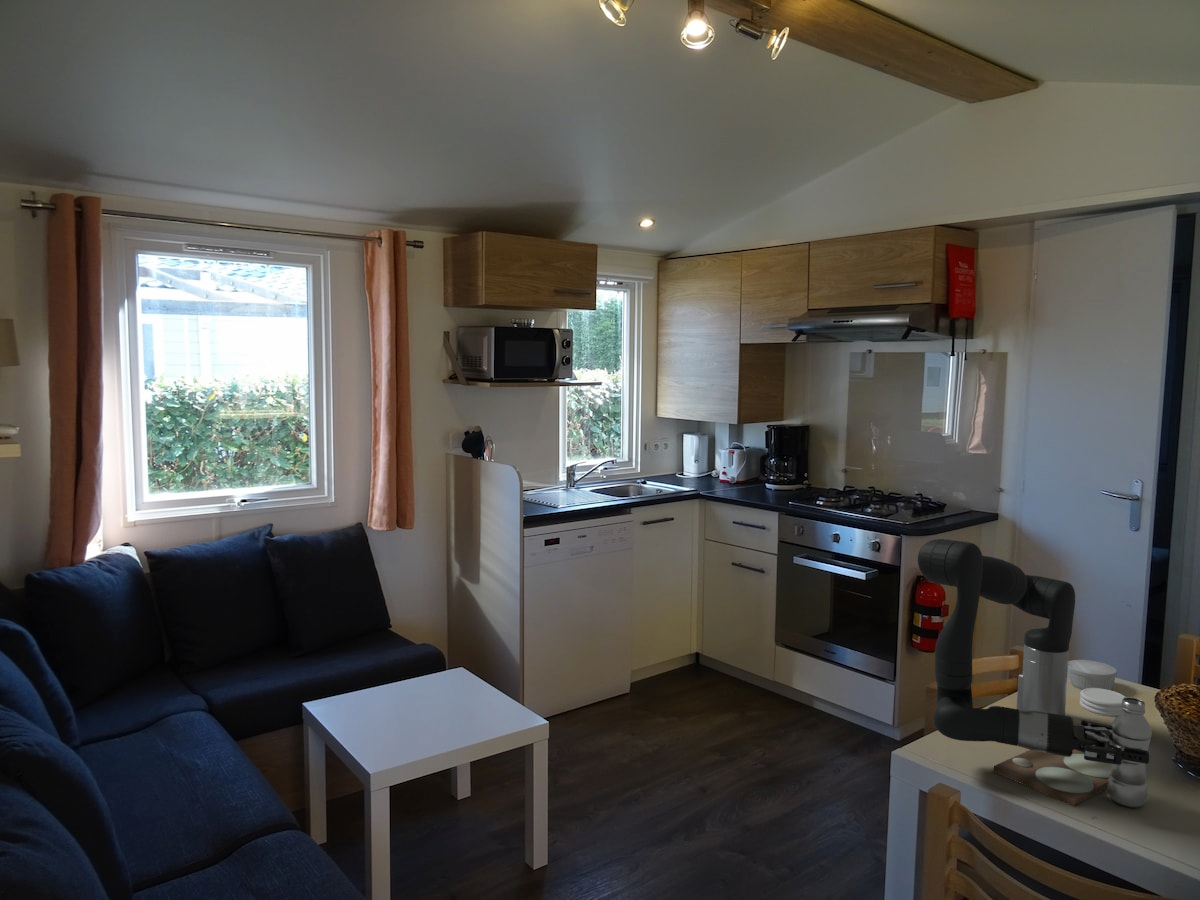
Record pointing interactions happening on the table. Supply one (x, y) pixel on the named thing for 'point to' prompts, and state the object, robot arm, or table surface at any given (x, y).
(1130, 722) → the plastic bottle
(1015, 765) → the board
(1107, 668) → the ramekin
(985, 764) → the table surface
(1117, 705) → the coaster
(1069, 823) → the table surface
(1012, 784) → the table surface
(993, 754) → the table surface
